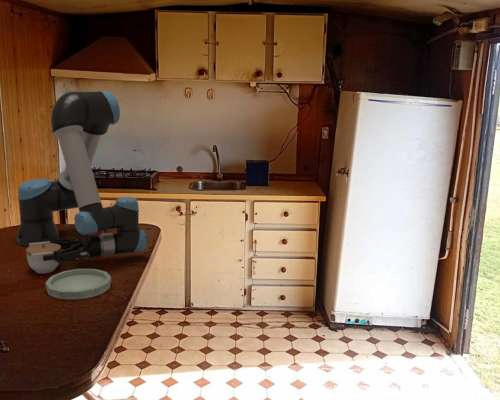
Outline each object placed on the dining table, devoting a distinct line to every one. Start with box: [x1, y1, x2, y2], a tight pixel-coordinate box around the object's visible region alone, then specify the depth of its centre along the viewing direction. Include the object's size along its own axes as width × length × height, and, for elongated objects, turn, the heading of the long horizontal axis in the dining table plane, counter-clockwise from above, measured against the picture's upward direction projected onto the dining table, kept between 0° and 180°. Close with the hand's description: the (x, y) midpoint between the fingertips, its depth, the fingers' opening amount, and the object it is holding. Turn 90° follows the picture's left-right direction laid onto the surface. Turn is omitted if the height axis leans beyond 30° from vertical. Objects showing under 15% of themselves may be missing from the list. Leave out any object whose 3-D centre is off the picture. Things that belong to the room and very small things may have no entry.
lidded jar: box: [25, 243, 62, 274], centre depth 173 cm, size 11×11×9 cm
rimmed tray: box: [45, 268, 112, 301], centre depth 160 cm, size 18×18×2 cm
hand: (30, 253), depth 170 cm, fingers closed on lidded jar, 11 cm apart
